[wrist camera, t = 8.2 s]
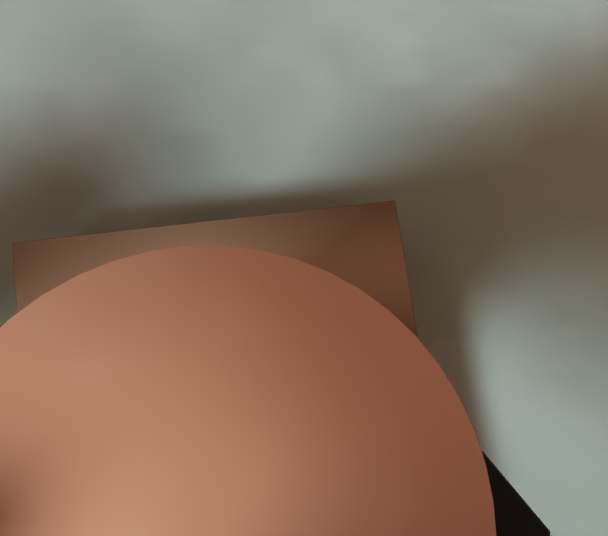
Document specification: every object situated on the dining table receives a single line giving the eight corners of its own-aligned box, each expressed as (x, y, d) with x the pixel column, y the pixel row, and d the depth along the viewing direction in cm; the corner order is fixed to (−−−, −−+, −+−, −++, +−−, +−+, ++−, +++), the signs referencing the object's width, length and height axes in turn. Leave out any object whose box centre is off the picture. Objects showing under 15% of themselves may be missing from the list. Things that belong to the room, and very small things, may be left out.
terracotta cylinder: (362, 459, 16) (601, 656, 5) (187, 561, 15) (44, 1055, 4) (274, 290, 17) (327, 156, 6) (100, 379, 16) (-220, 416, 5)
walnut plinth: (428, 553, 20) (460, 588, 17) (73, 622, 18) (39, 672, 15) (374, 222, 21) (394, 200, 18) (47, 260, 20) (12, 242, 17)
